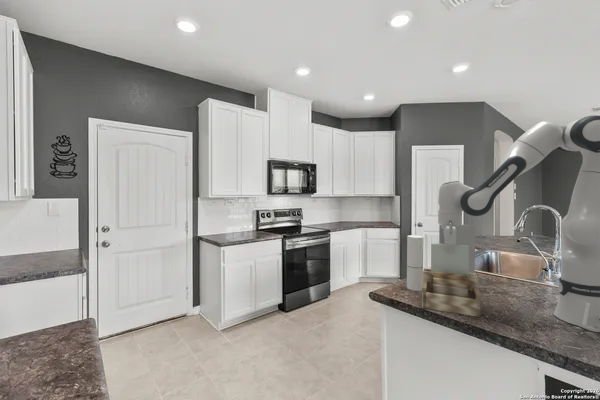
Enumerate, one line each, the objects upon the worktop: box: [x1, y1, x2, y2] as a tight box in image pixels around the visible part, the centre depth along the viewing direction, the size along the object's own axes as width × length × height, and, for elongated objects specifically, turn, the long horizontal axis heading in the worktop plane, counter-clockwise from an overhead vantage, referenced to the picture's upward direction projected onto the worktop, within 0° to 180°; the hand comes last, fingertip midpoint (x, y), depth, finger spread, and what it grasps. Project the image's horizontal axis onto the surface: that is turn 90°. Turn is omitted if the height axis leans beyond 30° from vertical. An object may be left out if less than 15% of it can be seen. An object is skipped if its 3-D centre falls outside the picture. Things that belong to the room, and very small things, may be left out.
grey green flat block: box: [430, 242, 469, 276], centre depth 119 cm, size 14×2×24 cm, turn 64°
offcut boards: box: [433, 271, 468, 298], centre depth 113 cm, size 12×6×13 cm, turn 64°
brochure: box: [438, 224, 476, 274], centre depth 136 cm, size 14×6×30 cm, turn 84°
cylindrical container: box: [406, 234, 424, 292], centre depth 134 cm, size 7×7×25 cm
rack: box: [421, 267, 482, 318], centre depth 115 cm, size 20×16×12 cm
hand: (449, 252), depth 119 cm, fingers open, 2 cm apart
